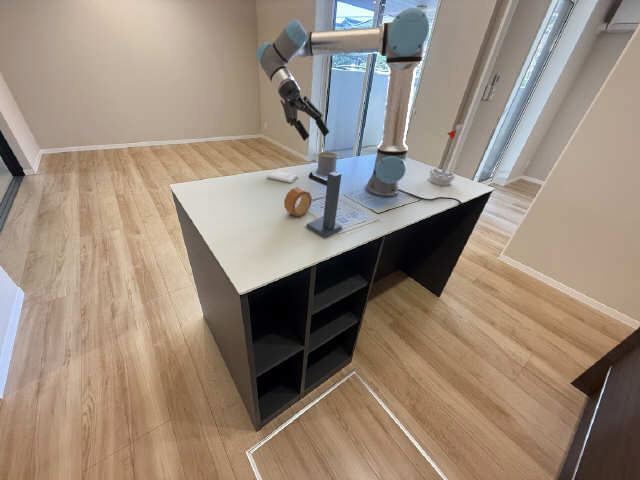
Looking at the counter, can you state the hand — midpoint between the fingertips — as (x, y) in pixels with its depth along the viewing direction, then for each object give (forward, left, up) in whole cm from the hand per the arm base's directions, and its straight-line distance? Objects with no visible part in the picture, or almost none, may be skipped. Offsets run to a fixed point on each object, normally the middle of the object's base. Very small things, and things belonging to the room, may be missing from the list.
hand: (317, 136), depth 95 cm
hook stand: (-8, +21, -26) cm, 34 cm away
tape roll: (+2, +15, -21) cm, 26 cm away
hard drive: (+21, -18, -27) cm, 38 cm away
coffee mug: (+1, -38, -27) cm, 46 cm away
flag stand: (-61, -50, -27) cm, 83 cm away
